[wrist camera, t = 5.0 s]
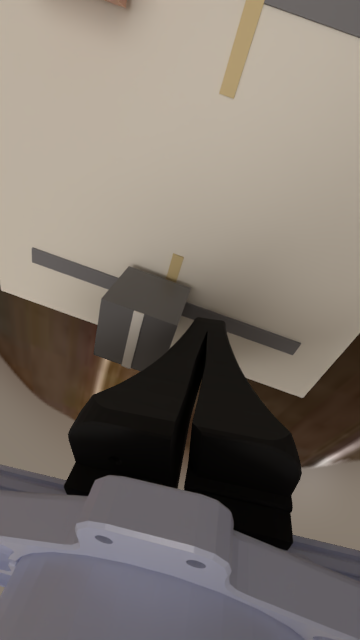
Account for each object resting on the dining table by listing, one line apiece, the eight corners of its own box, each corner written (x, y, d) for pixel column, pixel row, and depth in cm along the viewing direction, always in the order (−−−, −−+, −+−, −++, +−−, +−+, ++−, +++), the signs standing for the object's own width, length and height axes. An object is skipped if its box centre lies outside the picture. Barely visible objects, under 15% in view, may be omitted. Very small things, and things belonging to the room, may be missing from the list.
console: (645, -50, 7) (731, -87, 6) (298, 378, 17) (303, 399, 16) (-22, -288, 7) (-82, -379, 6) (18, 278, 17) (-1, 291, 16)
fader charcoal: (190, 288, 13) (177, 327, 11) (173, 336, 15) (158, 379, 12) (128, 265, 13) (100, 299, 11) (119, 316, 15) (92, 355, 12)
